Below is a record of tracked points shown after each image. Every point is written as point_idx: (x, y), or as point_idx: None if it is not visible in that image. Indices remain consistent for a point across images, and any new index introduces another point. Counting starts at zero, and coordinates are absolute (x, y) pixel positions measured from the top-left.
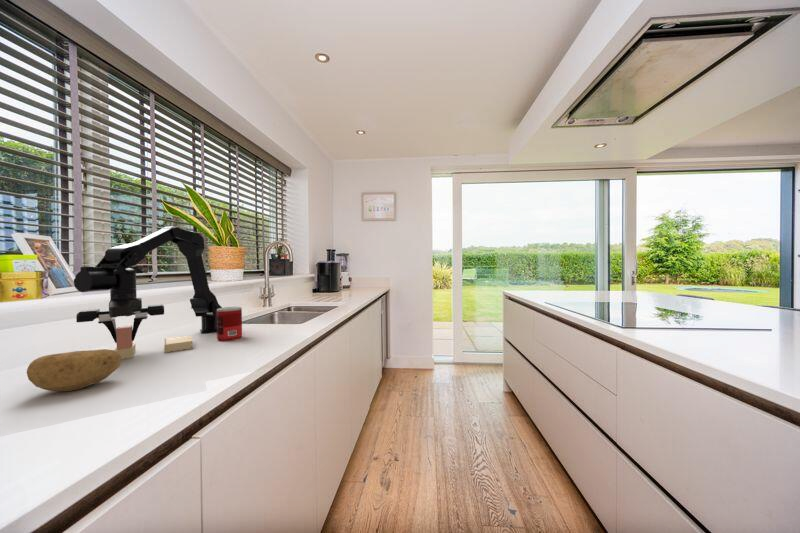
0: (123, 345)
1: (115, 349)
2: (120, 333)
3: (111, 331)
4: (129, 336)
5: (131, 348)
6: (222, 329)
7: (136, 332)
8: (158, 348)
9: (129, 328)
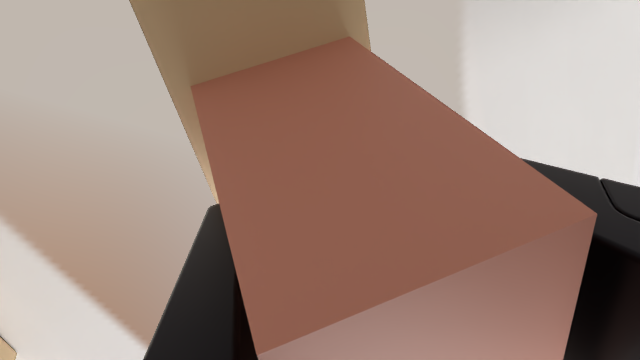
0: (292, 76)
1: (364, 45)
2: (425, 163)
3: (612, 193)
4: (244, 168)
5: (152, 3)
6: None
7: (170, 317)
8: (32, 288)
9: (289, 305)
